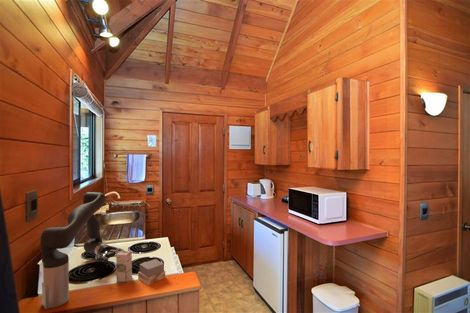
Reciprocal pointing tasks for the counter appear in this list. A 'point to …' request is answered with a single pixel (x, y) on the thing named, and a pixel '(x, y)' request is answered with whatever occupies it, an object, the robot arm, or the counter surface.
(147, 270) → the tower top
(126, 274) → the pinkish brown brick pillar
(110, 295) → the counter surface
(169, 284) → the counter surface
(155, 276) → the tower base
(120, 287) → the counter surface
